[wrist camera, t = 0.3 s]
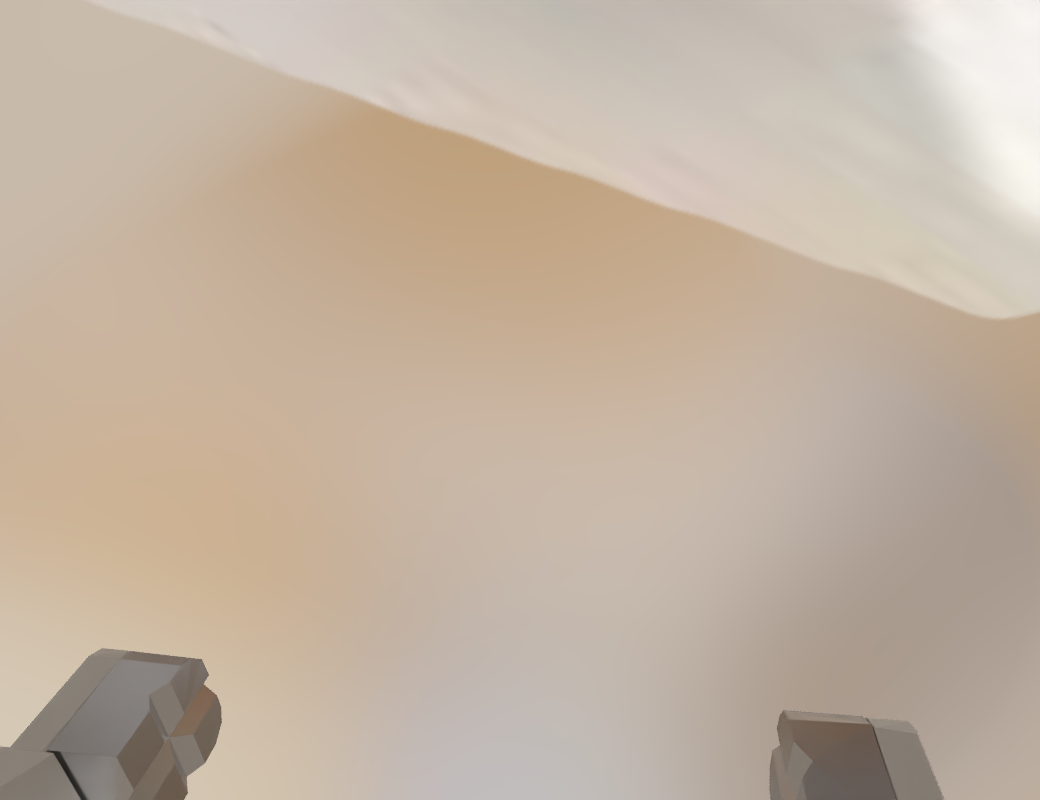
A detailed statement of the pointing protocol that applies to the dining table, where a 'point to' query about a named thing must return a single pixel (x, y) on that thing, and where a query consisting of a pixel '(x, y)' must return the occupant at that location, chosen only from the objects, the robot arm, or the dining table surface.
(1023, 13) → the dining table surface
